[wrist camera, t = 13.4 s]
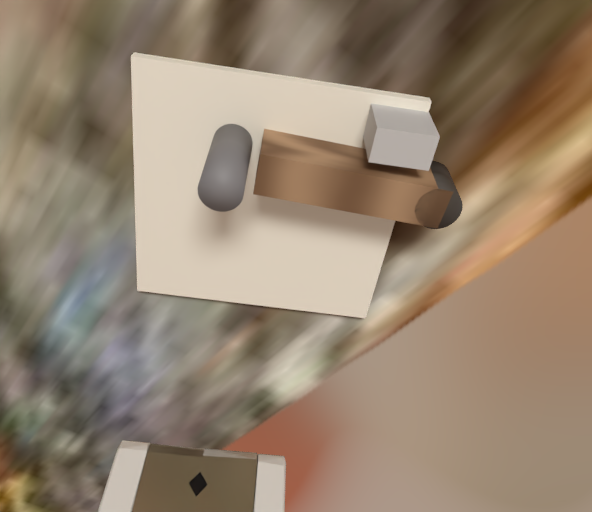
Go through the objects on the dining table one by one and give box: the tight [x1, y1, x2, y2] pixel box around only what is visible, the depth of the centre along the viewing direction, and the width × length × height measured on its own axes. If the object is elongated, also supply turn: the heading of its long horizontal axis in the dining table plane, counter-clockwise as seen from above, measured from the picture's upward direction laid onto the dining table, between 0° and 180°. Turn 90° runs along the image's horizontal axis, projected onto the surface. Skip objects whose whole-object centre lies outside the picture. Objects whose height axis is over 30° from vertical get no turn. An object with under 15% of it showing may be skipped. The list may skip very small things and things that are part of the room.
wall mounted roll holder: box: [131, 52, 440, 318], centre depth 40 cm, size 20×20×8 cm
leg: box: [253, 129, 462, 229], centre depth 39 cm, size 14×3×4 cm, turn 78°
